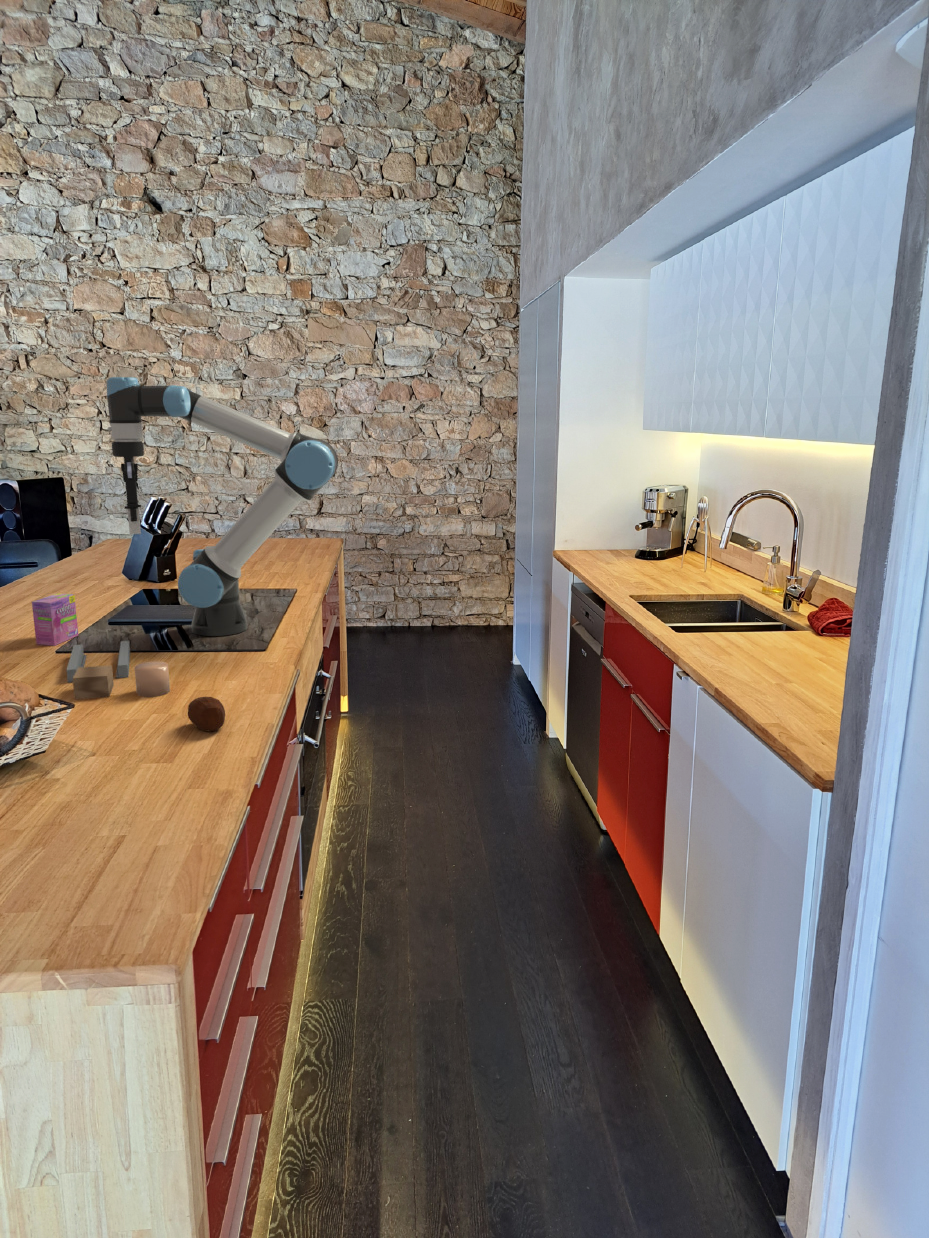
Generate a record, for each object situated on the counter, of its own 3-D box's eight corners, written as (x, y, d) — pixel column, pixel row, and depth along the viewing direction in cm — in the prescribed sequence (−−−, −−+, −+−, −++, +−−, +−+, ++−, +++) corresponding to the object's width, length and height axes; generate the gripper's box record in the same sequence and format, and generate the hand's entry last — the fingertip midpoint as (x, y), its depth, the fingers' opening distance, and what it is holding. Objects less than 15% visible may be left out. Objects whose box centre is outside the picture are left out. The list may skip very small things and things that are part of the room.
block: (113, 686, 198) (111, 665, 197) (109, 697, 190) (107, 675, 189) (80, 688, 196) (78, 667, 195) (74, 700, 189) (72, 678, 187)
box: (55, 646, 229) (50, 602, 226) (35, 644, 230) (30, 601, 227) (79, 636, 239) (75, 594, 236) (61, 634, 240) (56, 593, 237)
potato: (194, 738, 168) (191, 706, 166) (184, 722, 176) (182, 692, 174) (230, 732, 171) (228, 701, 169) (220, 717, 179) (218, 687, 177)
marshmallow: (169, 685, 198) (167, 660, 196) (170, 695, 192) (168, 669, 190) (136, 688, 196) (134, 663, 194) (136, 698, 189) (134, 672, 188)
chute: (130, 652, 224) (129, 640, 223) (128, 677, 204) (127, 664, 203) (75, 656, 220) (73, 645, 219) (67, 682, 200) (66, 670, 199)
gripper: (112, 439, 224) (120, 530, 230) (110, 441, 212) (119, 537, 218) (143, 439, 227) (150, 529, 232) (142, 441, 215) (150, 536, 220)
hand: (135, 533), depth 225 cm, fingers closed
